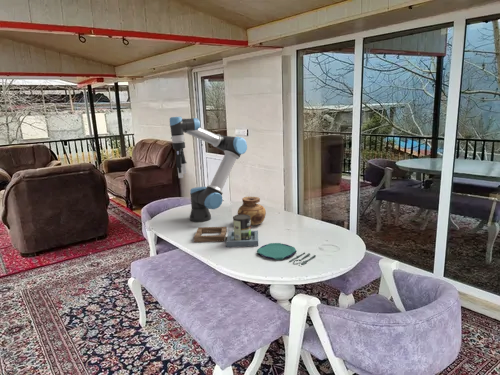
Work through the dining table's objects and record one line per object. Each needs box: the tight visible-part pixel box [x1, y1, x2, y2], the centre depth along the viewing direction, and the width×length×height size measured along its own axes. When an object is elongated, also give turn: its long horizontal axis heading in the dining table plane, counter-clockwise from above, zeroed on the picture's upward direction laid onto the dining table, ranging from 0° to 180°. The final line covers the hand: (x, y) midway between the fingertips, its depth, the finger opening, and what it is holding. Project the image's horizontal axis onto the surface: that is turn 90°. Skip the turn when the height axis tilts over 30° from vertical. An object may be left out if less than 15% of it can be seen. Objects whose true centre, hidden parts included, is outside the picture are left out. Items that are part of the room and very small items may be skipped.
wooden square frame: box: [193, 226, 228, 243], centre depth 227 cm, size 18×18×3 cm
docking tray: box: [226, 230, 259, 248], centre depth 218 cm, size 18×18×3 cm
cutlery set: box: [256, 242, 316, 266], centre depth 196 cm, size 20×30×2 cm, turn 49°
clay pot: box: [237, 196, 267, 226], centre depth 247 cm, size 19×19×20 cm
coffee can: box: [232, 214, 252, 240], centre depth 217 cm, size 10×10×14 cm
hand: (182, 175), depth 233 cm, fingers open, 13 cm apart
